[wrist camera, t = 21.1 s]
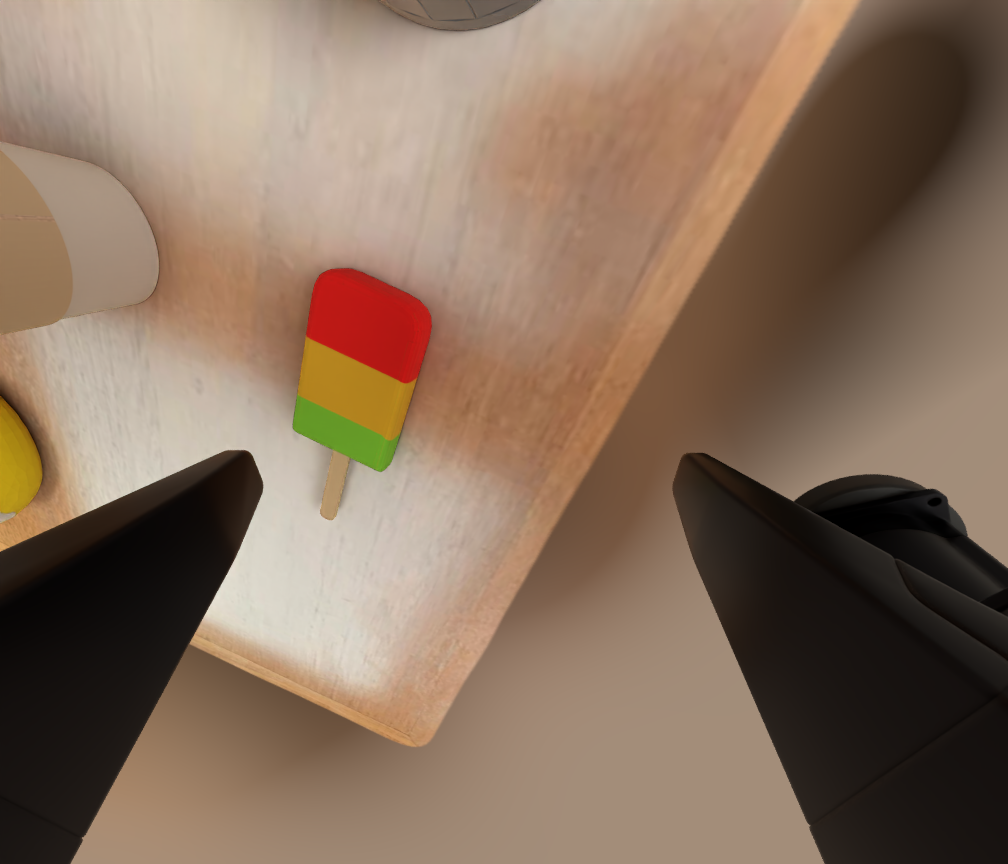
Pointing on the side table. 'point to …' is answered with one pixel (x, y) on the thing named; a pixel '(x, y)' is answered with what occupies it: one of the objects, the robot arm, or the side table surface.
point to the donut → (16, 464)
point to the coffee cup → (68, 240)
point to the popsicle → (358, 371)
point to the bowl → (458, 12)
